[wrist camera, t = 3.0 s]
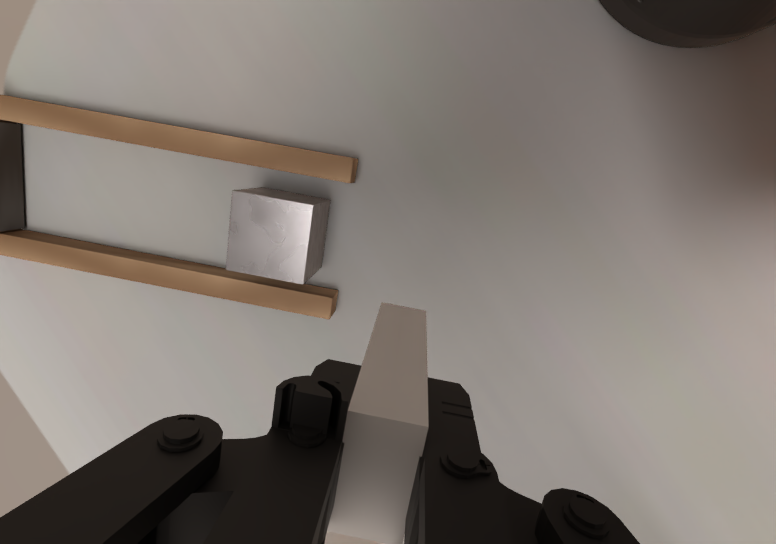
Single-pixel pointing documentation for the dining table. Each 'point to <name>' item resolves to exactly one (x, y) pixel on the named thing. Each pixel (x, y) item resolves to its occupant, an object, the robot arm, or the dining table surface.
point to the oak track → (5, 237)
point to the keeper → (276, 234)
